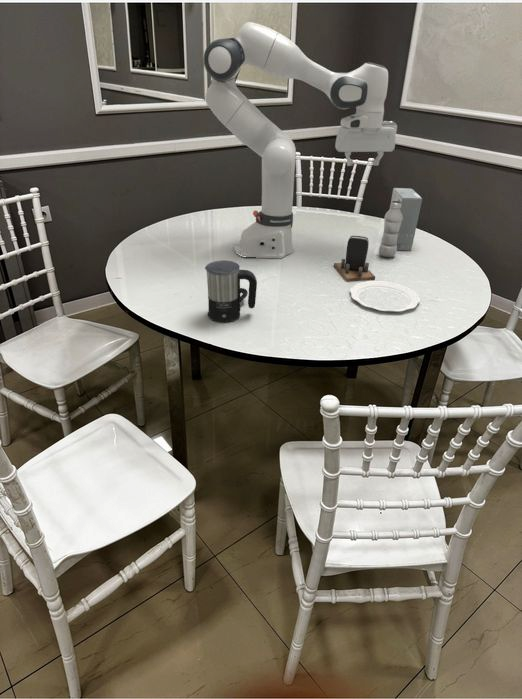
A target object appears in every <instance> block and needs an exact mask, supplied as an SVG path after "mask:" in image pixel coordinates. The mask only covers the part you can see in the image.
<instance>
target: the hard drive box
mask: <svg viewBox="0 0 522 699" xmlns="http://www.w3.org/2000/svg"><path fill="white" fill-rule="evenodd" d="M391 194H392V195H391V200H390V203H391V202H392V201H400V202H402V204H401V208H400V210H401V212H402V215H403V219H402V223H401V226H400V229H399V233H398V238H397V251H409V252H410V251H412V249H413V243H414V239H415V236H416V230H417V225H418V221H419V216H420V212H421V207H422V202H423V198H422V197H421V195H419V194H418V193H417V191H415V190H414V189H413V188H407V187H406V188H405V187H404V188H403V187H394V188H393V189H392V193H391ZM390 209H391V207H390V206H389V210H390Z"/></svg>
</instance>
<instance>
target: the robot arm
mask: <svg viewBox="0 0 522 699" xmlns="http://www.w3.org/2000/svg"><path fill="white" fill-rule="evenodd" d="M203 65H204V68H205V71H206V72H207V74H208V75H209V76H210V77H211V83H210V85H209V87H208V88H207V90H206V92H205V103H206V105H207V107H208V108H209V109H210V111H211V112H212V114H213V115H214V116H215V117H216V118H217V120H218V121H219V122H220V123H221V124H222V125H223V126H224V127H225V128H226V129H227V130H228V131H229V132H230V133H232V135H233V136H234V137H236V138H237V139H238V140H239V141H240V142H241V143H242V144H243V145H244V146H247V148H250V149H251V150H252V151H253V152H254V153H256V154H257V155H258V156H259V157H261V209H260V211H258V210H255V209H254V210H253V211H252V215H253V217H254V218H255V221H254V222H253V223H252V224H251V225H249V226H248V227H246V228H245V229H243V231H242V233H241V236H240V240H239V241H237V242H236V243H234V247H233V249H235V250H234V252H235V251H236V252H237V253H238V254H240V255H242V256H246V257H256V258H255V259H284V258H285V257H286V256H288V255H290V254H292V253H293V252H294V251H295V247H294V243H293V234H292V228H293V225H294V212H293V203H294V202H293V201H294V200H293V199H294V188H295V187H294V186H295V184H294V183H295V169H296V168H295V167H296V153H297V151H296V149H297V148H296V146H295V142H294V141H293V140H292V139H291V138H290V137H289V136H288V135H287V134H286V133H285V132H284V131H283V130H282V129H280V128H279V127H278V126H277V125H276V124H275V123H273V122H272V121H271V120H270V119H269V118H268V117H267V116H266V115H264V113H262V112H261V110H260V109H258V108H257V106H256V105H255V104H254V103H253V102H252V101H251V100H249V99H248V98H247V97H246V95H245V94H243V92H241V90H240V89H239V88H238V87H237V84H236V81H237V79H238V77H239V73H240V71H241V68H242V67H243V66H245V65H250V66H253V67H255V68H257V69H259V70H261V71H263V72H265V73H267V74H269V75H271V76H272V77H273V76H274V77H277V78H280V79H287V80H288V79H289V80H291V79H292V80H293V79H294V80H299V81H302V82H304V83H307V84H308V85H310V86H312V87H314V88H316V89H318V90H319V91H321V92H323V93H324V94H325V95H326V97H327V98H328V99H329V101H330V102H331V104H333V105H334V107H336V108H338V109H341V110H347V109H353V108H355V109H356V110H355V113H354V114H351V115H349V116H345V117H342V118H341V120H340V127H339V129H338V130H337V134H336V139H335V143H334V146H335V147H334V148H335V149H336V151H337V152H338V153H344V156H345V158H346V166H347V167H353V165H354V164H353V163H354V160H353V159H351V157H350V156H351V154H352V153H359V152H360V153H363V152H364V153H371V152H372V153H377V156H376V157H375V158H374V159H373V160H372V166H379V164H380V161H381V159H382V158H383V156H384V152H390V153H391V152H393V151H394V150H395V147H396V139H397V138H396V134H397V131H398V125H397V123H396V122H395V121H394V120H390V121H389V120H384V115H385V101H386V99H387V94H388V89H389V88H388V86H389V71H388V69H387V68H386V66H384V65H382V64H378V63H374V62H370V61H368V62H364V63H363V64H362V65H361V66H360V67H358V68H356V69H354V70H351V71H349V72H345V71H342V72H341V71H339V72H338V71H336V72H335V71H333V70H329V69H327V68H326V67H324V66H322V65H320V64H318V63H316V62H315V61H313V60H312V59H311V58H308V57H307V55H305V53H304V52H303V51H302V50H301V49H300V47H299V46H298V45H297V44H295V43H294V42H293V41H292V40H291V39H289V38H288V37H287V36H285V35H284V34H281V33H280V32H278V31H276V30H274V29H272V28H271V27H268V26H265V25H263V24H261V23H257V22H252V21H247V22H245V23H244V24H243V25H242V26H241V27H240V28H239V29H238V32H237V34H236V36H235V37H228V38H218V39H215V40H213V41H212V42H210V43H209V44H208V45H207V46H206V48H205V51H204V53H203ZM236 252H235V253H236Z"/></svg>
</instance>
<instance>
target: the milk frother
mask: <svg viewBox="0 0 522 699" xmlns="http://www.w3.org/2000/svg"><path fill="white" fill-rule="evenodd" d="M240 267H241V266H240V265H239V263H237V262H234V261H233V260H223V259H222V260H215V261H211V262H209V263H207V264H206V265H205V267H204V269H205V271H206V278H207V282H206V283H207V302H208V305H207V306H208V312H207V316H208V318H209V319H210V320H212V321H214V322H217V323H231V322H234V321H236V320H237V319H239V318H240V317H241V312H240V311H241V303H242V301H244V300H245V299H246V297H247V296H248V298H247V299H248V300H247V305H248V308H249V309H254V308H255V306H256V300H257V289H258V288H257V285H258V281H257V277H256V275H255V274H254V272H252V271H251V270H248V269H240ZM241 280H246V281H248V285H249V286H248V289H246V288H244V287H241Z"/></svg>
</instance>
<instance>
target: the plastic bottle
mask: <svg viewBox="0 0 522 699" xmlns="http://www.w3.org/2000/svg"><path fill="white" fill-rule="evenodd" d="M401 204H402V202H400V201H392V202H391V201H390V206H389V210H388V211H386V213H385V214H384V220H383V222H384V224H383V233H382V238H381V241H380V245H379V247H378V253H379V255H380V256H381V257H383V258H394V257H395V256H396V254H397V252H398V250H397V238H398V233H399V229H400V226H401V223H402V219H403V215H402V212H401V210H400V208H401ZM390 207H391V209H390Z"/></svg>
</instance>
